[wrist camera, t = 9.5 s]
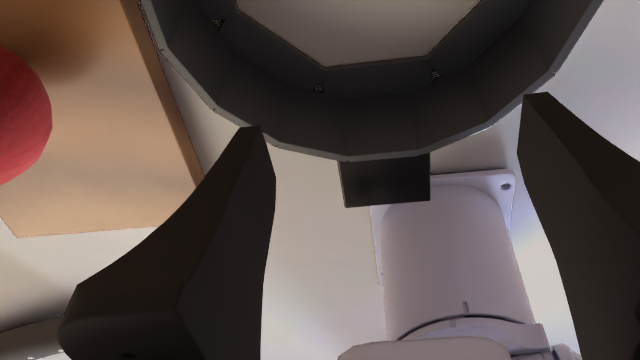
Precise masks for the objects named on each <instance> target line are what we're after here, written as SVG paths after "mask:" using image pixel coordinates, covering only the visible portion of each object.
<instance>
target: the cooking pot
mask: <svg viewBox="0 0 640 360" xmlns="http://www.w3.org/2000/svg"><path fill="white" fill-rule="evenodd" d="M140 1H141V4H142V6H143V9H144V11H145V14H146V17H147V19H148V22H149V24H150V27H151V30H152V32H153V35H154V38H155V40H156V43H157V45H158V48H159V49H160V51H161V53H162V54H163V55H164V56H165V57H166V59H167V60H168V61H169V62H170V63H171V64H172V65H173V67H174V68H175V69H176V70H177V71H178V72H179V73H180V75H181V76H182V77H183V78H184V79H185V80H186V81H187V83H188V84H189V85H190V86H191V87H192V88H193V89H194V91H195V92H196V93H197V94H198V95H199V96H200V97H201V99H202V100H203V101H204V102H205V103H206V104H207V105H208V107H209V108H210V109H211V110H213V111H214V112H215V113H217V114H219V115H220V116H222V117H224V118H226V119H227V120H229V121H231V122H233V123H234V124H236V125H238V126H240V127H248V126H256V125H261V128H262V132H263V135H264V138H265V141H266V142H267V143H269V144H271V145H273V146H274V147H278V148H280V149H285V150H289V151H294V152H299V153H304V154H308V155H313V156H318V157H323V158H327V159H332V160H337V162H338V168H339V175H340V181H341V187H342V193H343V199H344V206H345V208H351V207H363V206H375V205H387V204H400V203H412V202H424V201H430V200H431V185H430V152H432V151H434V150H436V149H439V148H441V147H444V146H446V145H449V144H451V143H454V142H456V141H459V140H461V139H464V138H466V137H468V136H471V135H473V134H476V133H478V132H481V131H483V130H486V129H488V128H490V127H491V126H494V125H495V124H496V123H497V122H498V121H500V120H501V119H502V118H503V117H505V116H506V115H507V114H508V113H509V112H511V111H512V110H513V109H514V108H516V107H517V106H518V105H519V104H520V103H522V102H523V95H524V94H533V93H534V92H535V91H536V90H538V89H539V88H540V87H541V86H543V85H544V84H545V83H546V82H547V81H549V80H550V79H551V78H552V77H554V76H555V73H557V72H558V71H559V69H560V68H561V66H562V64H563V63H564V61H565V60H566V58H567V57H568V55H569V53H570V52H571V50H572V49H573V47H574V46H575V44H576V43H577V41H578V39H579V38H580V36H581V35H582V33H583V32H584V30H585V28H586V27H587V25H588V24H589V22H590V21H591V19H592V18H593V16H594V14H595V13H596V11H597V10H598V8H599V7H600V5H601V3H602V2H603V0H482V1H481V2H480V3H479V4H478V5H477V6H476V7H475V8H474V9H473V10H472V11H471V12H470V13H469V14H468V15H467V16H466V17H465V18H464V19H463V20H462V21H461V22H460V23H459V24H458V25H457V26H456V27H455V28H454V29H453V30H452V31H451V32H450V33H449V34H448V35H447V36H446V37H445V38H444V39H443V40H442V41H441V42H440V43H439V44H438V45H437V46H436V47H435V48H434V49H433V50H432V51H431V52H430V53H429V54H428V55H427V56H422V57H413V58H404V59H395V60H386V61H377V62H368V63H359V64H351V65H342V66H333V67H323V66H322V65H320V64H319V63H317V62H316V61H314V60H313V59H311V58H310V57H308V56H307V55H305V54H304V53H302V52H301V51H299V50H298V49H296V48H295V47H293V46H292V45H290V44H289V43H287V42H286V41H284V40H283V39H281V38H280V37H278V36H277V35H275V34H274V33H272V32H271V31H269V30H268V29H266V28H265V27H263V26H262V25H260V24H259V23H258V22H256V21H255V20H253V19H252V18H250V17H249V16H247V15H246V14H244V13H243V12H241V11H240V10H238V7H237V3H236V0H140ZM220 19H225V20H224V21H223V23H222V24H221V26H220V27H219V29H218V28H217V27H216V26H215V24H214V23H213V22H212V20H220ZM432 69H433V70H434V71H435V72H437V73H438V74H439V75H441V76H440V77H438V78H436V79H433V80H432ZM320 82H321V83H322V89H323V92H321V91H317V90H314V89H315V87H316V86H317V85H318V84H319V83H320Z"/></svg>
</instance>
